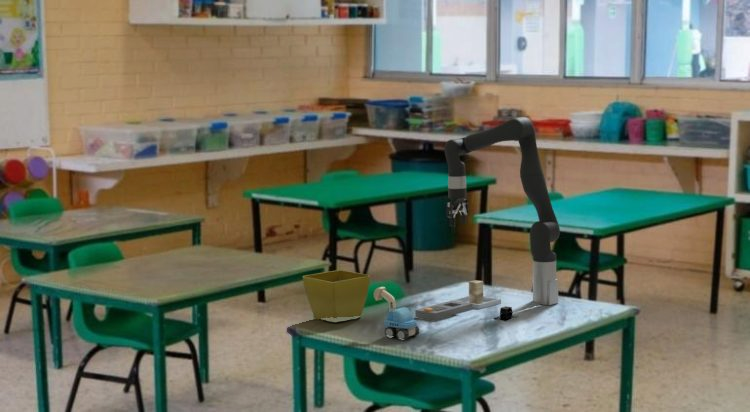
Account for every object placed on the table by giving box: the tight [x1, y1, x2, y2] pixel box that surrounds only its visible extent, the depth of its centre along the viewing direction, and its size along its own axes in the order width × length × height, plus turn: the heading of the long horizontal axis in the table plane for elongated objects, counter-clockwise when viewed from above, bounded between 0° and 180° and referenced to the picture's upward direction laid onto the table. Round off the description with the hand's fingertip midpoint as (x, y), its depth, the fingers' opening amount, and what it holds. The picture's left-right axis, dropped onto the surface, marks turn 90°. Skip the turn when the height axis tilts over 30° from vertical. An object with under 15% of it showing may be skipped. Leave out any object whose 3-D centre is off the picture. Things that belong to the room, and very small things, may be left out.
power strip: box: [414, 300, 473, 322], centre depth 482 cm, size 10×22×4 cm, turn 137°
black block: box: [494, 306, 519, 322], centre depth 474 cm, size 12×7×5 cm, turn 142°
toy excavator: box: [373, 286, 420, 340], centre depth 447 cm, size 9×17×17 cm, turn 51°
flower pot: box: [302, 269, 371, 320], centre depth 476 cm, size 19×19×17 cm
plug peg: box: [468, 279, 484, 304], centre depth 496 cm, size 4×4×9 cm
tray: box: [450, 295, 502, 310], centre depth 496 cm, size 14×14×2 cm
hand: (458, 225), depth 523 cm, fingers open, 8 cm apart
